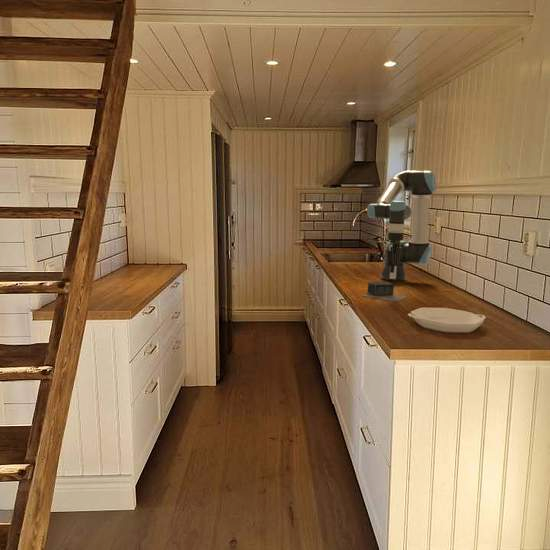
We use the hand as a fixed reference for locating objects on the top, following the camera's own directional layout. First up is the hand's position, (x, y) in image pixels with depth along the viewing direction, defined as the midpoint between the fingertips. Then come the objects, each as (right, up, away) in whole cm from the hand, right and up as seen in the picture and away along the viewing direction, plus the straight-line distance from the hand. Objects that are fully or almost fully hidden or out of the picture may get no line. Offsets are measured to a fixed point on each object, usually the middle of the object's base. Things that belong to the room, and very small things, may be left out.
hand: (392, 278), depth 244 cm
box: (-1, -5, +2) cm, 6 cm away
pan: (+8, -18, -54) cm, 58 cm away
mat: (-5, -9, -4) cm, 11 cm away
